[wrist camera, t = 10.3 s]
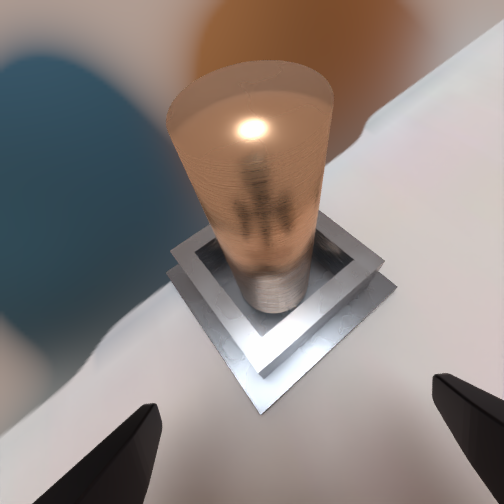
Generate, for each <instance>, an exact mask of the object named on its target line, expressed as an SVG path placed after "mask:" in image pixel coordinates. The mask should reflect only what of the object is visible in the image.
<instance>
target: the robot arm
mask: <svg viewBox="0 0 504 504" xmlns="http://www.w3.org/2000/svg"><path fill="white" fill-rule="evenodd" d="M432 397H433V401H434V403H435V405H436V407H437V409H438V411H439V412H440V414H441V416H442V417H443V419H444V421H445V422H446V424H447V426H448V427H449V429H450V431H451V432H452V434H453V436H454V438H455V439H456V441H457V443H458V444H459V446H460V448H461V449H462V451H463V453H464V454H465V456H466V457H467V459H468V461H469V462H470V463H471V465H472V466H473V468H474V469H475V471H476V472H477V474H478V475H479V476H480V478H481V479H482V481H483V482H484V483H485V485H486V486H487V488H488V489H489V491H490V492H491V493H492V495H493V496H494V498H495V499H496V500H497V502H498V503H499V504H504V400H502V399H500V398H498V397H496V396H494V395H492V394H490V393H488V392H486V391H484V390H481V389H479V388H477V387H475V386H473V385H471V384H469V383H467V382H465V381H463V380H461V379H459V378H457V377H455V376H453V375H451V374H448V373H442V374H435V375H434V376H433V380H432ZM161 432H162V420H161V417H160V413H159V410H158V406H157V404H155V403H150V404H144V405H142V406H141V407H140V408H139V409H138V410H136V411H135V412H134V413H133V414H132V415H131V416H130V417H129V418H128V419H126V420H125V421H124V422H123V423H122V424H121V425H120V426H119V427H117V428H116V429H115V430H114V431H113V432H112V433H111V434H110V435H109V436H107V437H106V438H105V439H104V440H103V441H102V442H101V443H100V444H98V445H97V446H96V447H95V448H94V449H93V450H92V451H91V452H90V453H88V454H87V455H86V456H85V457H84V458H83V459H82V460H81V461H79V462H78V463H77V464H76V465H75V466H74V467H73V468H72V469H71V470H69V471H68V472H67V473H66V474H65V475H64V476H63V477H62V478H60V479H59V480H58V481H57V482H56V483H55V484H54V485H53V486H52V487H50V488H49V489H48V490H47V491H46V492H45V493H44V494H43V495H41V496H40V497H39V498H38V499H37V500H36V501H35V502H34V503H33V504H143V502H144V499H145V495H146V492H147V489H148V486H149V482H150V478H151V474H152V470H153V466H154V462H155V458H156V453H157V449H158V445H159V441H160V437H161Z"/></svg>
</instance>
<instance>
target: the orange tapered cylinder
mask: <svg viewBox="0 0 504 504" xmlns="http://www.w3.org/2000/svg"><path fill="white" fill-rule="evenodd" d="M333 102H334V95H333V90H332V88H331V86H330V84H329V83H328V81H327V80H326V79H325V78H324V77H323V76H322V75H321V74H319V73H318V72H316V71H315V70H313V69H311V68H309V67H306V66H303V65H301V64H297V63H293V62H286V61H276V60H261V61H250V62H244V63H239V64H234V65H231V66H227V67H224V68H221V69H218V70H216V71H213V72H211V73H209V74H207V75H205V76H203V77H201V78H199V79H197V80H196V81H194V82H193V83H191V84H190V85H188V86H187V87H186V88H185V89H184V90H183V91H181V93H180V94H179V95H178V96H177V97H176V98H175V100H174V101H173V102H172V104H171V106H170V108H169V110H168V113H167V118H166V126H167V129H168V133H169V135H170V137H171V139H172V141H173V144H174V146H175V148H176V150H177V153H178V155H179V157H180V159H181V161H182V163H183V166H184V168H185V170H186V172H187V175H188V177H189V179H190V181H191V183H192V186H193V188H194V190H195V192H196V194H197V196H198V198H199V201H200V203H201V205H202V207H203V210H204V212H205V214H206V216H207V218H208V220H209V223H210V225H211V227H212V229H213V232H214V234H215V236H216V238H217V240H218V242H219V245H220V247H221V249H222V251H223V253H224V256H225V258H226V260H227V262H228V264H229V267H230V269H231V271H232V273H233V275H234V278H235V280H236V282H237V284H238V286H239V288H240V291H241V293H242V295H243V297H244V299H245V300H246V301H247V302H248V303H249V304H250V305H251V306H252V307H253V308H255V309H257V310H259V311H262V312H265V313H281V312H285V311H288V310H290V309H292V308H293V307H295V306H296V305H297V304H298V303H299V302H300V301H301V300H302V299H303V297H304V295H305V294H306V291H307V287H308V281H309V274H310V267H311V260H312V252H313V245H314V238H315V231H316V224H317V217H318V210H319V203H320V196H321V189H322V181H323V174H324V167H325V160H326V153H327V146H328V139H329V131H330V124H331V117H332V110H333Z"/></svg>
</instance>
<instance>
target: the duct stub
mask: <svg viewBox="0 0 504 504" xmlns="http://www.w3.org/2000/svg"><path fill="white" fill-rule="evenodd" d="M170 252H171V253H172V255H173V256H174V257H175V259H176V260H177V262H178V263H179V264H177V265H176V266H175V267H173V268H172V269H170V270H169V271H167V272H166V274H167V275H168V277H169V278H170V280H171V281H172V283H173V284H174V286H175V287H176V289H177V290H178V292H179V293H180V295H181V296H182V298H183V299H184V301H185V302H186V304H187V305H188V307H189V308H190V310H191V311H192V313H193V314H194V316H195V317H196V319H197V320H198V322H199V323H200V325H201V326H202V328H203V329H204V331H205V332H206V334H207V335H208V337H209V338H210V340H211V341H212V343H213V344H214V346H215V347H216V349H217V350H218V352H219V353H220V355H221V356H222V358H223V359H224V361H225V362H226V364H227V365H228V367H229V368H230V370H231V371H232V373H233V374H234V376H235V377H236V379H237V380H238V382H239V383H240V385H241V386H242V388H243V389H244V390H245V392H246V393H247V395H248V396H249V398H250V399H251V401H252V402H253V404H254V405H255V407H256V408H257V410H258V411H259V413H260V414H261V415H262V414H263V413H264V412H265V411H266V410H267V409H268V408H269V407H270V406H271V405H272V404H273V403H275V402H276V401H277V400H278V399H279V398H280V397H281V396H282V395H283V394H284V393H285V392H286V391H287V390H288V389H289V388H291V387H292V386H293V385H294V384H295V383H296V382H297V381H298V380H299V379H300V378H301V377H302V376H303V375H304V374H306V373H307V372H308V371H309V370H310V369H311V368H312V367H313V366H314V365H315V364H316V363H317V362H318V361H319V360H320V359H322V358H323V357H324V356H325V355H326V354H327V353H328V352H329V351H330V350H331V349H332V348H333V347H334V346H335V345H337V344H338V343H339V342H340V341H341V340H342V339H343V338H344V337H345V336H346V335H347V334H348V333H349V332H350V331H351V330H353V329H354V328H355V327H356V326H357V325H358V324H359V323H360V322H361V321H362V320H363V319H364V318H365V317H366V316H368V315H369V314H370V313H371V312H372V311H373V310H374V309H375V308H376V307H377V306H378V305H379V304H380V303H381V302H382V301H384V300H385V299H386V298H387V297H388V296H389V295H390V294H391V293H392V292H393V291H394V290H395V289H396V288H397V286H396V285H395V284H393V283H392V282H391V281H390V280H388V279H387V278H386V277H385V276H383V275H382V274H381V273H380V272H378V271H379V269H380V268H381V266H382V265H383V263H384V262H385V261H384V260H383V259H382V258H381V257H379V256H378V255H377V254H375V253H374V252H373V251H371V250H370V249H369V248H368V247H366V246H365V245H364V244H362V243H361V242H360V241H358V240H357V239H356V238H355V237H353V236H352V235H351V234H349V233H348V232H347V231H345V230H344V229H343V228H342V227H340V226H339V225H338V224H336V223H335V222H334V221H332V220H331V219H330V218H329V217H327V216H326V215H325V214H323V213H322V212H321V211H319V210H318V217H317V224H316V231H315V238H314V245H313V252H312V260H311V267H310V274H309V281H308V287H307V291H306V294H305V295H304V297H303V299H302V300H301V301H300V302H299V303H298V304H297V305H296V306H295V307H293V308H292V309H290V310H288V311H285V312H281V313H265V312H262V311H259V310H257V309H255V308H253V307H252V306H251V305H250V304H249V303H248V302H247V301H246V300H245V299H244V297H243V295H242V293H241V291H240V288H239V286H238V284H237V282H236V280H235V278H234V275H233V273H232V271H231V269H230V267H229V264H228V262H227V260H226V258H225V256H224V253H223V251H222V249H221V247H220V245H219V242H218V240H217V238H216V236H215V234H214V232H213V229H212V227H211V225H210V224H209V225H208V226H206V227H205V228H203V229H202V230H200V231H199V232H197V233H196V234H194V235H193V236H191V237H190V238H188V239H187V240H186V241H184V242H183V243H181V244H180V245H178V246H177V247H175V248H174V249H172V250H171V251H170Z"/></svg>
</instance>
